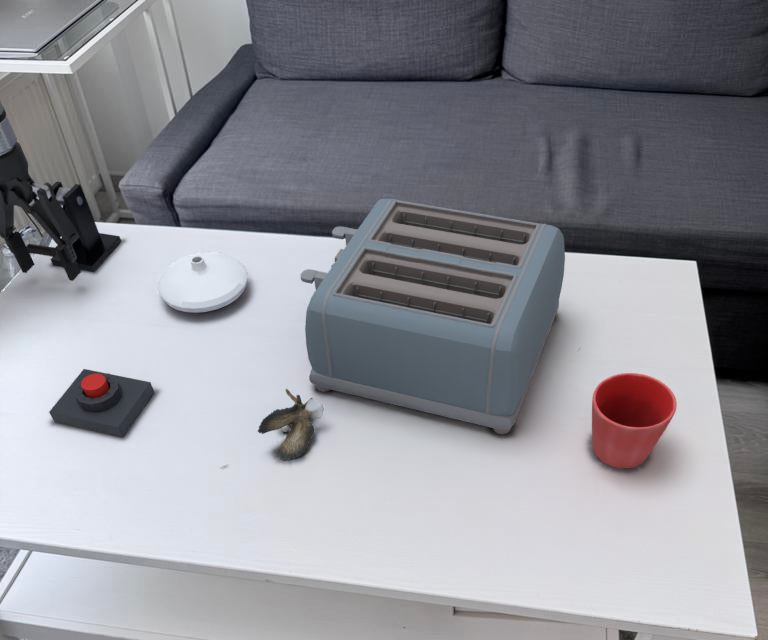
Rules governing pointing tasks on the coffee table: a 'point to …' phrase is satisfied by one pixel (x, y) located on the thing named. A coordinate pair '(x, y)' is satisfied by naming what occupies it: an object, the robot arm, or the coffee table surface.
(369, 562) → the coffee table surface
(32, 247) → the lever
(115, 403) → the control block
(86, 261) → the bracket
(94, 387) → the button
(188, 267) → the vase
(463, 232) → the toaster
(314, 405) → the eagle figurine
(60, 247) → the robot arm
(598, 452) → the flower pot
